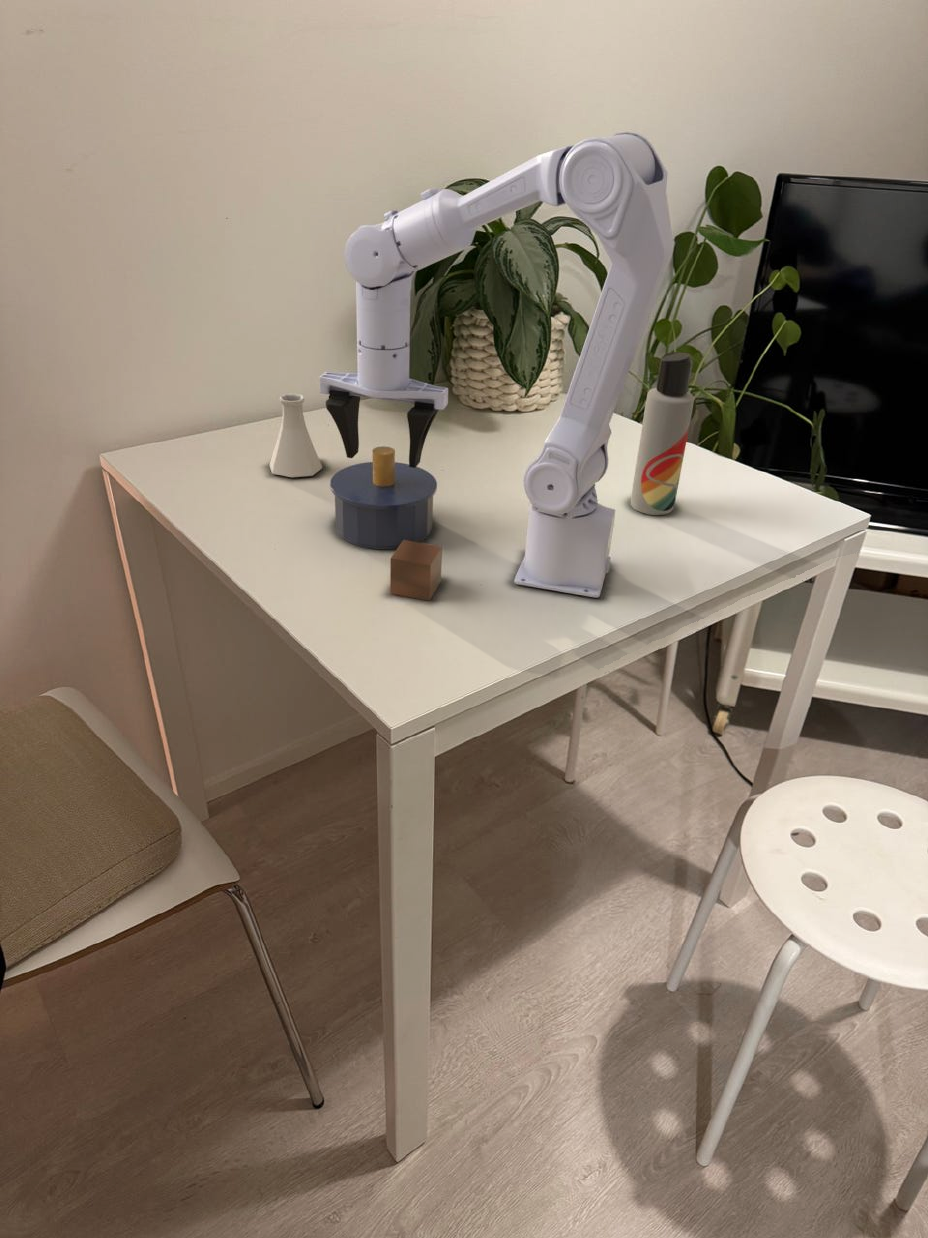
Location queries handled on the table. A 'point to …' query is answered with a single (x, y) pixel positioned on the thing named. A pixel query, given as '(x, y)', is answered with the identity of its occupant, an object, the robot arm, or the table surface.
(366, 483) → the lid
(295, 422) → the flask
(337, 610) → the table surface
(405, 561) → the block
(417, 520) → the tin
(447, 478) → the table surface
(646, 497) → the lotion bottle
